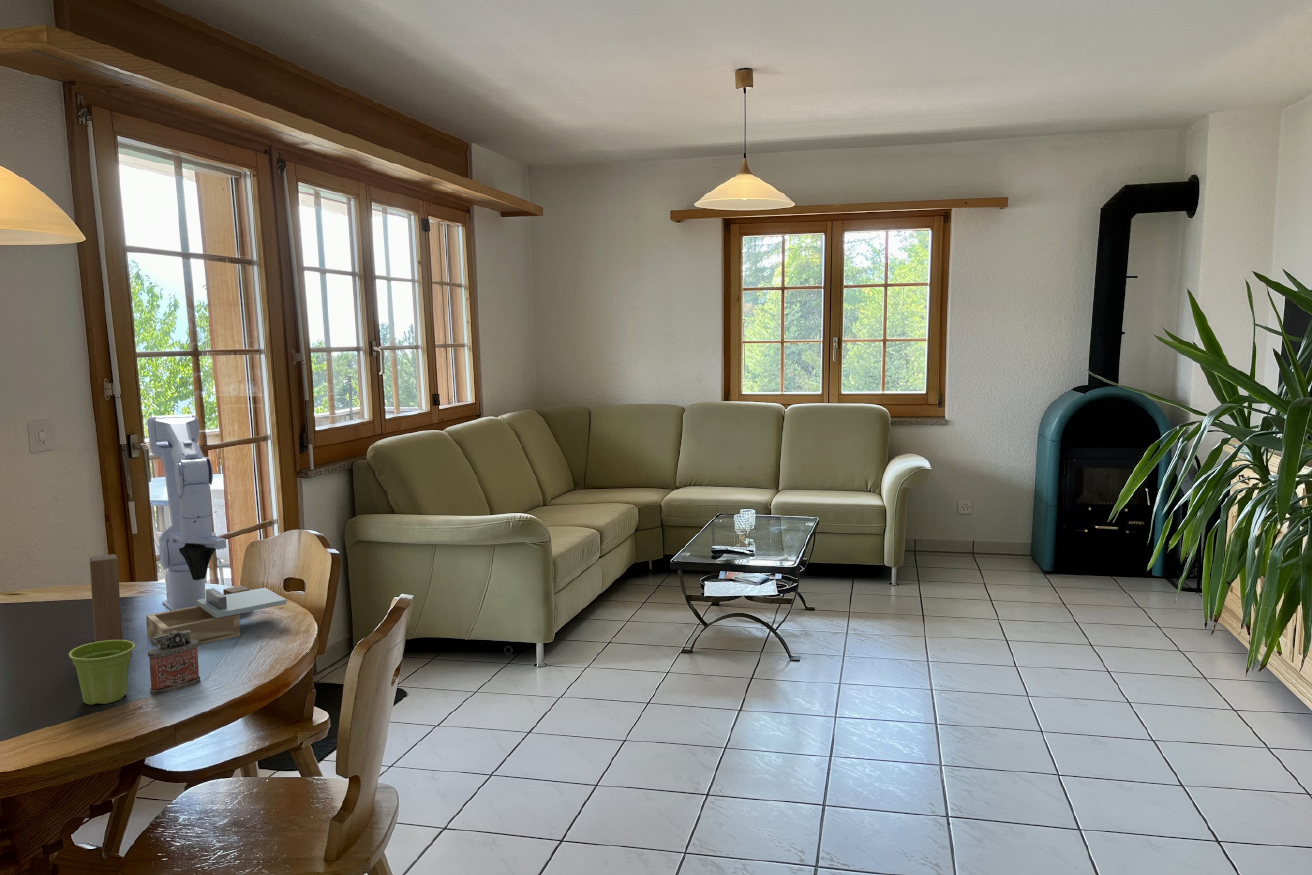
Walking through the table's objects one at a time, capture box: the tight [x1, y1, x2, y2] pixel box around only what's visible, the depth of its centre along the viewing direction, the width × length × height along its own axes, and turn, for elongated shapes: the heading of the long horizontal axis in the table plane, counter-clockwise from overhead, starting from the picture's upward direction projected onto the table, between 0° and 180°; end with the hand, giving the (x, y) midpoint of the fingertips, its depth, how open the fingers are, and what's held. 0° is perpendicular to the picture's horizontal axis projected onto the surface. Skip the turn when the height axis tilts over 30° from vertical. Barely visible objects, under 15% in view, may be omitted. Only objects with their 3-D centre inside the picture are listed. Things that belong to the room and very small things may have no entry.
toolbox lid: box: [197, 587, 287, 618], centre depth 184 cm, size 12×14×4 cm
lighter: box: [147, 630, 201, 696], centre depth 152 cm, size 8×3×10 cm, turn 141°
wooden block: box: [89, 553, 123, 642], centre depth 173 cm, size 9×4×18 cm, turn 34°
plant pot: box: [68, 639, 136, 706], centre depth 147 cm, size 9×9×9 cm
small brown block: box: [222, 584, 251, 595], centre depth 195 cm, size 4×4×5 cm
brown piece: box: [145, 606, 241, 647], centre depth 178 cm, size 12×14×4 cm
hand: (199, 578), depth 184 cm, fingers closed
